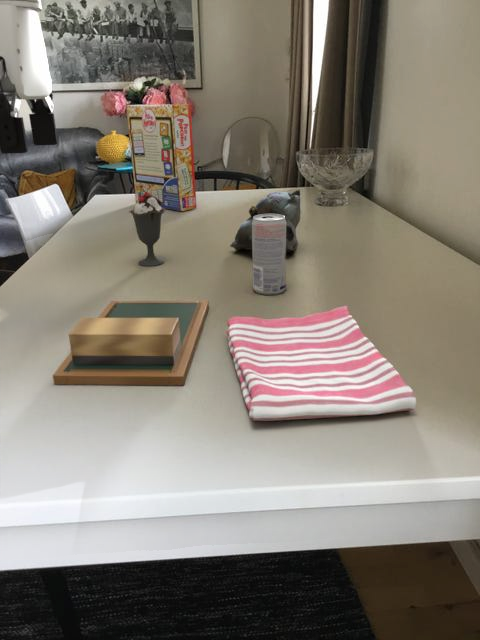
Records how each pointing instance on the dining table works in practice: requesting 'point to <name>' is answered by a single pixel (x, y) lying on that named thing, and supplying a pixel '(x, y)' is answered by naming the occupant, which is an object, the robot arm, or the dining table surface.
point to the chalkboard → (176, 374)
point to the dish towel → (313, 368)
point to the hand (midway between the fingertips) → (31, 148)
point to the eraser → (125, 341)
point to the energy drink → (269, 253)
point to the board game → (163, 153)
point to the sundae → (148, 225)
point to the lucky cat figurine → (273, 205)
